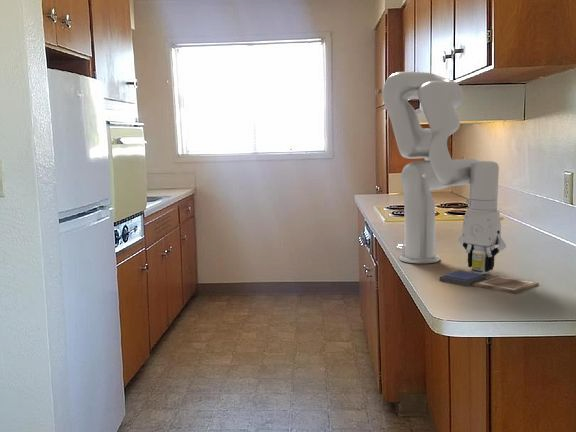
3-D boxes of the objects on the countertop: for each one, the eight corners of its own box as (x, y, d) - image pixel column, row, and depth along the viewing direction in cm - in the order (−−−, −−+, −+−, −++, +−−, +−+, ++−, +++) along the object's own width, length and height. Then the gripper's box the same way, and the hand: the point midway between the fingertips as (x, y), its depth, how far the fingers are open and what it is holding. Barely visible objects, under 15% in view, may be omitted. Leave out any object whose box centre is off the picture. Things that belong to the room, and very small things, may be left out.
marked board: (473, 285, 162) (473, 283, 162) (496, 277, 170) (496, 275, 169) (515, 293, 153) (515, 291, 153) (538, 285, 161) (538, 282, 160)
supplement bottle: (485, 270, 177) (486, 241, 176) (491, 274, 172) (492, 245, 171) (469, 270, 177) (470, 242, 175) (474, 274, 172) (476, 245, 171)
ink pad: (439, 280, 168) (439, 275, 168) (458, 275, 174) (458, 269, 173) (468, 286, 161) (468, 280, 161) (486, 280, 167) (486, 274, 167)
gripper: (449, 203, 175) (447, 265, 178) (504, 209, 163) (500, 275, 166) (464, 201, 180) (462, 261, 183) (518, 206, 168) (514, 271, 170)
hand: (480, 267), depth 174 cm, fingers closed on supplement bottle, 4 cm apart
